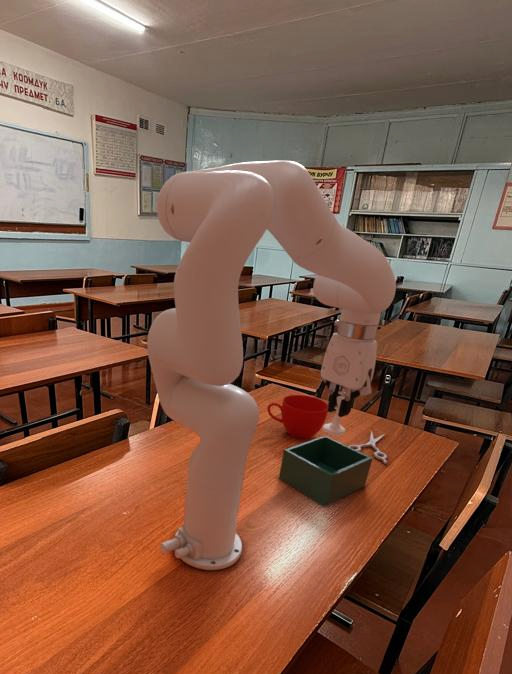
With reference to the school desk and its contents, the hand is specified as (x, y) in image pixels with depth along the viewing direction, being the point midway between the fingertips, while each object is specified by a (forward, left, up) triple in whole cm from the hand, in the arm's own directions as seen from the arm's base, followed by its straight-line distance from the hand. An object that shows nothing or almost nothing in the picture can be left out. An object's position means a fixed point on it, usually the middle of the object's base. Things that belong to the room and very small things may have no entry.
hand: (338, 412), depth 97 cm
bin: (0, 0, -18) cm, 18 cm away
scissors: (+30, +5, -18) cm, 36 cm away
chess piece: (0, 0, -5) cm, 5 cm away
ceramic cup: (+15, +22, -19) cm, 33 cm away
